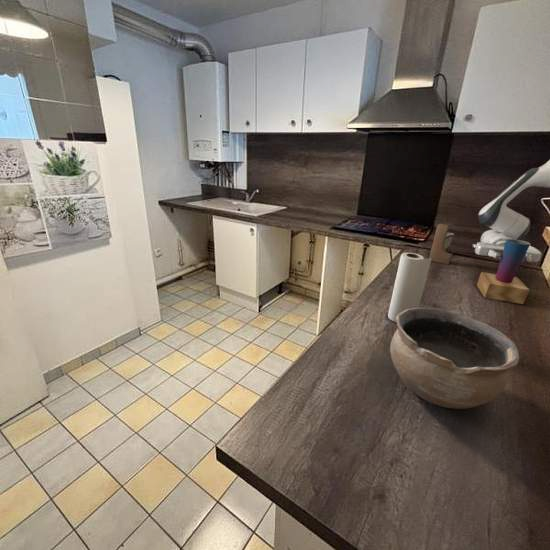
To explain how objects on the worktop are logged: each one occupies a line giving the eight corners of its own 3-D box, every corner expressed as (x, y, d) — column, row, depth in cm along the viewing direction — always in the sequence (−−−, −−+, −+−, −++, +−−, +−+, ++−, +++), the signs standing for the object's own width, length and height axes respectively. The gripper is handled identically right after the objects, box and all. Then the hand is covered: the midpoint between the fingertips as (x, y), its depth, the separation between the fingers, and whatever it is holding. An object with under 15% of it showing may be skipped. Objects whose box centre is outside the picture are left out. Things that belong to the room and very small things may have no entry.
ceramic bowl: (371, 395, 63) (383, 337, 57) (395, 345, 79) (406, 296, 73) (495, 451, 52) (527, 387, 46) (492, 379, 68) (515, 325, 62)
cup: (513, 279, 110) (528, 241, 104) (516, 285, 105) (532, 245, 99) (491, 275, 113) (505, 237, 107) (493, 281, 108) (507, 242, 102)
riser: (511, 291, 114) (517, 277, 112) (523, 304, 104) (529, 289, 102) (476, 285, 118) (481, 272, 116) (484, 298, 108) (489, 283, 105)
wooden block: (449, 262, 142) (460, 226, 135) (448, 265, 139) (459, 228, 132) (430, 258, 147) (439, 223, 140) (428, 260, 144) (437, 225, 137)
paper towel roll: (383, 317, 92) (397, 254, 84) (393, 311, 96) (407, 250, 88) (405, 327, 87) (422, 261, 79) (415, 321, 91) (431, 257, 83)
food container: (437, 248, 164) (442, 230, 160) (449, 251, 159) (454, 233, 155) (427, 252, 156) (432, 234, 152) (439, 255, 152) (444, 236, 148)
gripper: (473, 236, 119) (482, 245, 107) (534, 243, 112) (551, 254, 100) (469, 251, 121) (477, 261, 109) (528, 258, 115) (543, 270, 103)
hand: (513, 258), depth 105 cm, fingers open, 8 cm apart
